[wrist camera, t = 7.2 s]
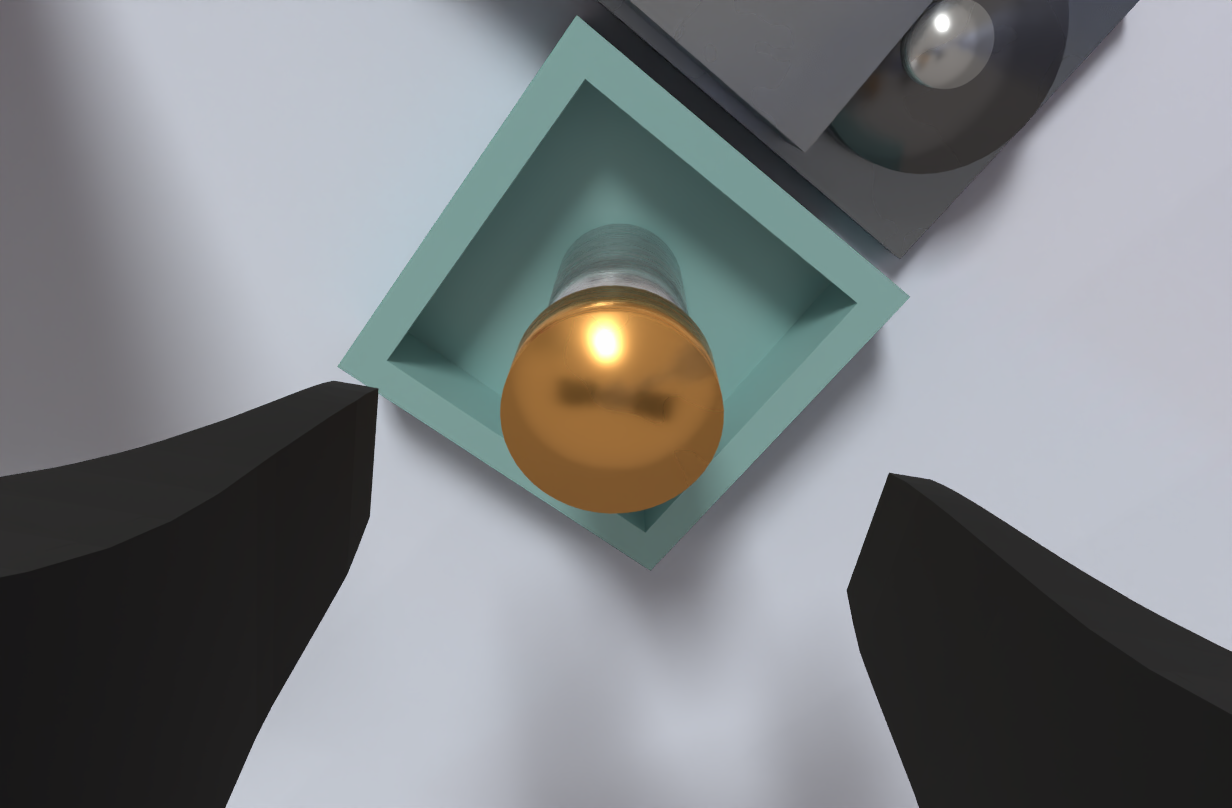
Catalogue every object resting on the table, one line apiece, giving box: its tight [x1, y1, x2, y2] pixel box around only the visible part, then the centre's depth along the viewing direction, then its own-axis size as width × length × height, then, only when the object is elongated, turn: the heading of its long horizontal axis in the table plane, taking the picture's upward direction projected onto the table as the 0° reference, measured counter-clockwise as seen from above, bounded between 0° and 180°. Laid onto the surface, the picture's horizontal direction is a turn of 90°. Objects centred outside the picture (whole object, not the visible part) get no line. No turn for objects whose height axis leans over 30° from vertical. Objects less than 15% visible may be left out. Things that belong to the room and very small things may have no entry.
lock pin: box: [500, 223, 724, 514], centre depth 16 cm, size 4×4×7 cm
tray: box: [338, 15, 910, 571], centre depth 19 cm, size 9×9×2 cm
